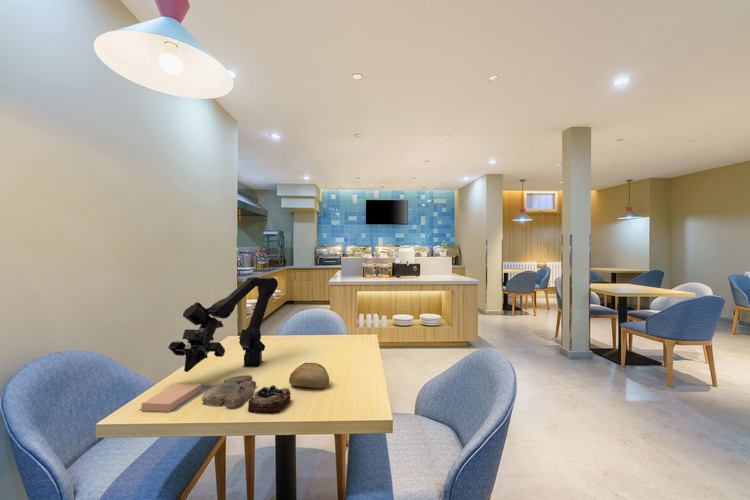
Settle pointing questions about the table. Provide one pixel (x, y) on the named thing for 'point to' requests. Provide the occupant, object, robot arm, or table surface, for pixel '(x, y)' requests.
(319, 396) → the table surface
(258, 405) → the pastry
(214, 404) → the flat grey rock
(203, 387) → the mat
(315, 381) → the bread roll
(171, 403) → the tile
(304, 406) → the table surface
